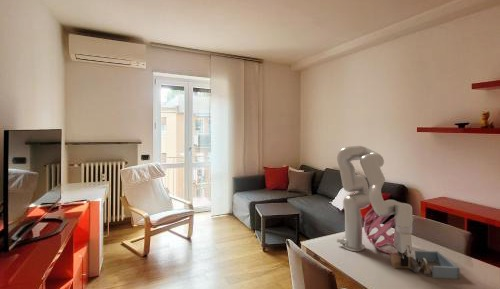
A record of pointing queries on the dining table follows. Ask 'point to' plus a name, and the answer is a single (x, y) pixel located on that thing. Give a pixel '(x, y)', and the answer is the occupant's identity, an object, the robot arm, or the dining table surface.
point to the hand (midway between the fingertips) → (402, 263)
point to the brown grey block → (397, 262)
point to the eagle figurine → (424, 266)
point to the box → (446, 266)
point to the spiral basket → (379, 230)
